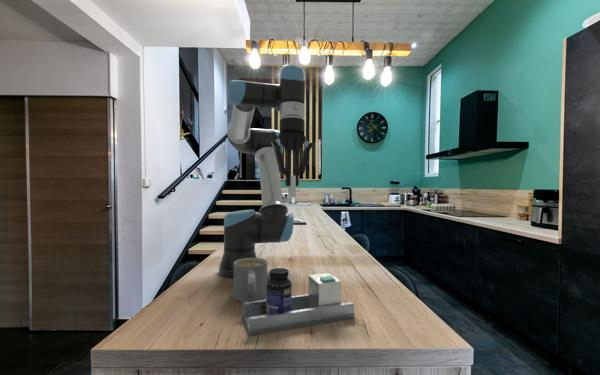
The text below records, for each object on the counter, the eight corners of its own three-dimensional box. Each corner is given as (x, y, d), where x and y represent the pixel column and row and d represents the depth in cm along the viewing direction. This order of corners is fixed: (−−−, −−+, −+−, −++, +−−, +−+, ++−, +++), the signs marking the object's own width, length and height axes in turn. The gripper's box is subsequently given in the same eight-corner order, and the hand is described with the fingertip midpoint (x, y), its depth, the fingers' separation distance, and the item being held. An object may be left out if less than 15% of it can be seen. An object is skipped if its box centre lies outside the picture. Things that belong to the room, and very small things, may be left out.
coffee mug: (237, 289, 90) (237, 257, 90) (268, 289, 90) (269, 257, 90) (226, 307, 76) (226, 270, 76) (263, 307, 76) (263, 270, 76)
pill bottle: (287, 322, 65) (288, 275, 65) (262, 320, 67) (262, 273, 67) (293, 311, 71) (293, 267, 71) (270, 309, 73) (270, 266, 73)
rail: (243, 316, 71) (243, 277, 71) (336, 302, 80) (336, 268, 80) (249, 335, 61) (249, 291, 61) (354, 317, 70) (354, 279, 70)
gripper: (274, 114, 80) (273, 197, 80) (316, 118, 84) (316, 197, 84) (268, 120, 87) (268, 197, 87) (307, 123, 91) (307, 196, 91)
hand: (291, 197), depth 86 cm, fingers closed
